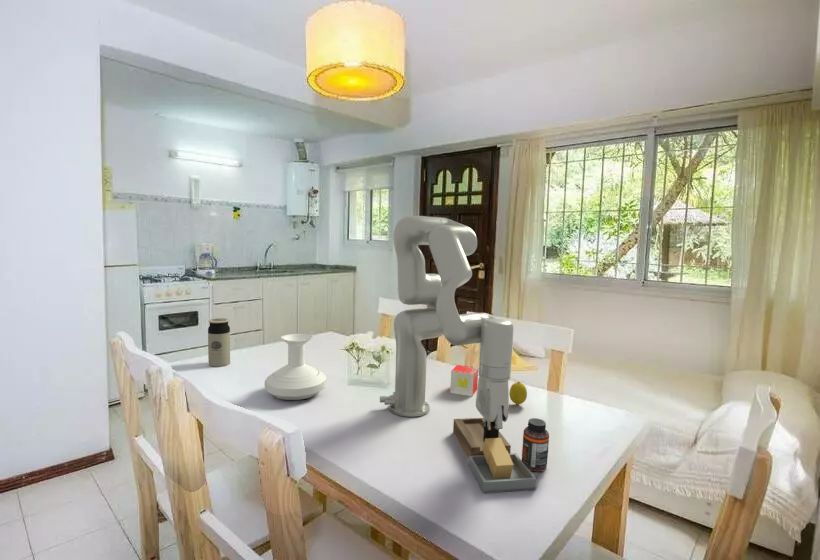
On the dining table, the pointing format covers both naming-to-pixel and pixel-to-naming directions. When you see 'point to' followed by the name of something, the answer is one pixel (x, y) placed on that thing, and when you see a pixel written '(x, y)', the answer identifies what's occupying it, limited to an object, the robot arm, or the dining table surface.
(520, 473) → the tray
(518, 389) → the lemon
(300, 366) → the white vase
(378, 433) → the dining table surface
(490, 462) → the yellow wooden cube
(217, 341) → the travel mug
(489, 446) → the yellow cube
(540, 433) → the supplement bottle
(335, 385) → the dining table surface
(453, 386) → the red patterned box
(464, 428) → the slot block
